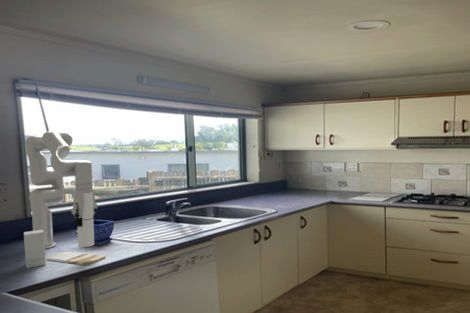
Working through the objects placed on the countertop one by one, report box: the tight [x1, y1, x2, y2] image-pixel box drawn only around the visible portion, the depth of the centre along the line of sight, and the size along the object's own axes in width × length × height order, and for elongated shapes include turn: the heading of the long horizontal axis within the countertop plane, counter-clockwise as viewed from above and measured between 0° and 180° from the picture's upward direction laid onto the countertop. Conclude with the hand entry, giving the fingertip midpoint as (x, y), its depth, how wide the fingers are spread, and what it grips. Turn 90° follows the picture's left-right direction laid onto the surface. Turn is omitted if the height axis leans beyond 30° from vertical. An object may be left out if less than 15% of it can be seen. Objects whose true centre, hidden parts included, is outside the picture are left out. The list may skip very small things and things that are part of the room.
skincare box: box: [23, 230, 47, 269], centre depth 188 cm, size 8×7×16 cm
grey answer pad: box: [46, 251, 85, 263], centre depth 199 cm, size 12×12×1 cm
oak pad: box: [66, 253, 106, 266], centre depth 194 cm, size 12×12×1 cm
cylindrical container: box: [77, 192, 95, 248], centre depth 193 cm, size 7×7×25 cm
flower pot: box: [93, 219, 115, 247], centre depth 225 cm, size 13×13×12 cm
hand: (85, 224), depth 193 cm, fingers closed on cylindrical container, 7 cm apart
